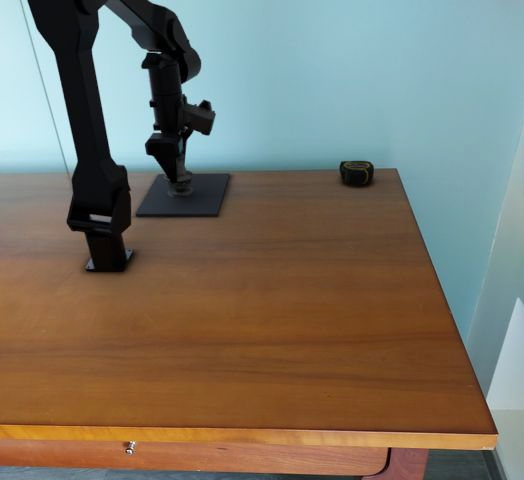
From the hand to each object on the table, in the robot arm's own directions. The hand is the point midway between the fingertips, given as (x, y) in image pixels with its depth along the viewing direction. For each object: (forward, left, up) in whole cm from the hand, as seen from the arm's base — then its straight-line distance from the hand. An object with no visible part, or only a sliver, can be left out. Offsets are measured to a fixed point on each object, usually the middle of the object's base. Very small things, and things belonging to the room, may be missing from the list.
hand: (178, 175), depth 106 cm
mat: (0, -1, -4) cm, 4 cm away
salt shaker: (0, 0, -4) cm, 4 cm away
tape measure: (+7, -36, -4) cm, 37 cm away
